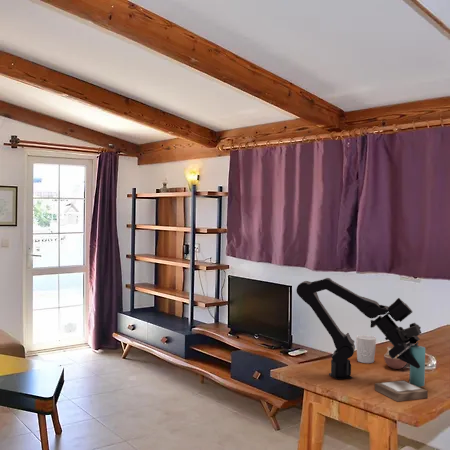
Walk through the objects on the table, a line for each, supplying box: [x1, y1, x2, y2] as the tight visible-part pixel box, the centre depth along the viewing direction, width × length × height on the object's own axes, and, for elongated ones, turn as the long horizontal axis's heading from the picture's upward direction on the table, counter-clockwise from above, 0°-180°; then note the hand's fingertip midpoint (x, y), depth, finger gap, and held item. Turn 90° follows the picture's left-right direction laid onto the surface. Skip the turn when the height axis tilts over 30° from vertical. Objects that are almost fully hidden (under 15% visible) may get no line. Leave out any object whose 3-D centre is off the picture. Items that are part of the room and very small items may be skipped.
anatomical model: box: [383, 345, 408, 370], centre depth 216 cm, size 23×10×5 cm, turn 158°
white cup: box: [355, 334, 377, 364], centre depth 219 cm, size 8×8×10 cm
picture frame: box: [374, 379, 429, 402], centre depth 178 cm, size 12×12×3 cm
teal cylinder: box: [409, 345, 426, 387], centre depth 185 cm, size 5×5×13 cm
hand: (421, 366), depth 185 cm, fingers closed on teal cylinder, 5 cm apart
